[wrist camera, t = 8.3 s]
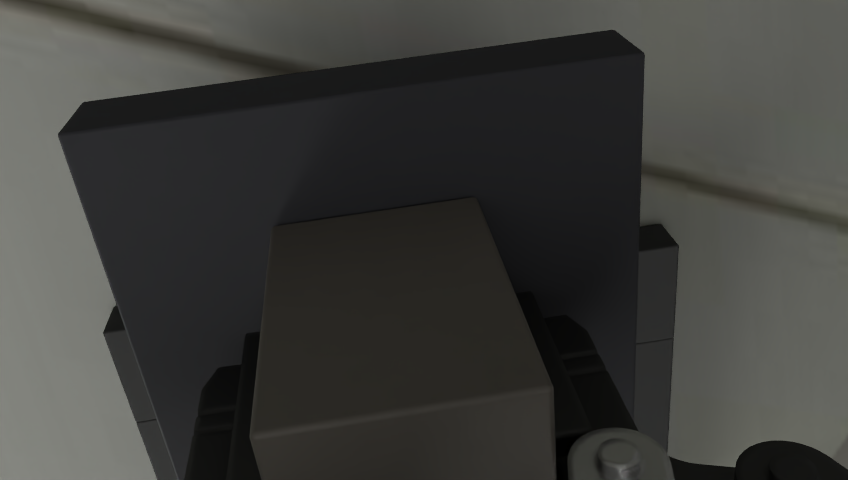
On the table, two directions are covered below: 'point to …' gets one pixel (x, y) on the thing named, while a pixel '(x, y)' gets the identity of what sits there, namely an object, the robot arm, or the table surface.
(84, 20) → the table surface
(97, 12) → the table surface
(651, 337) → the base pad
